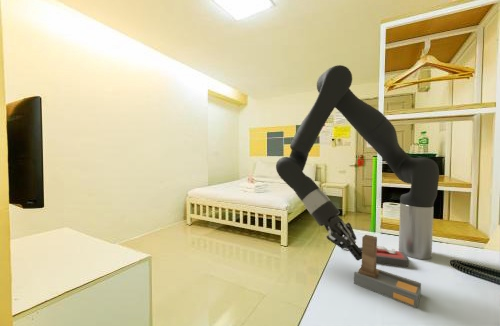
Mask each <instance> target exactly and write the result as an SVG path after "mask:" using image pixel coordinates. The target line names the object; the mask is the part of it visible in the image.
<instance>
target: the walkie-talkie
mask: <svg viewBox="0 0 500 326" xmlns="http://www.w3.org/2000/svg"><path fill="white" fill-rule="evenodd" d="M358 247H359V246H358ZM344 249H346V248H344ZM359 249H360V250H361V251H362V246H361V247H359ZM346 250H347V249H346ZM409 262H410V261H409V256H407V255H405V253H404V252H400V251H399V250H395V249H394V248H391V249H388V248H387V247H385V246H380V245H377V257H376V264H379V265H386V266H392V267H393V266H394V267H401V268H405V269H407V268H409Z"/></svg>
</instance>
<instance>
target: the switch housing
mask: <svg viewBox="0 0 500 326" xmlns="http://www.w3.org/2000/svg"><path fill="white" fill-rule="evenodd" d="M361 267H362V264H360V268H361ZM377 269H378V268H377ZM378 270H379V274H378V276H377V277H376V279H374V278H372V277H369V276H366V275H363V274H360V273H358V271H354V273H353V284H355V285H357V286H359V287H361V288H365V289H367V290H369V291H372V292H375V293H377V294H380V295H382V296H385V297H387V298H390V299H392V300H395V301H398V302H400V303H402V304H405V305H408V306H410V307H413V308H415V309H417V308H418V304H419V301H420V297H421V295H422V283H421V282H419V281H416V280H413V279H409V278H406V277H403V276H400V275H397V274H395V273H391V272H388V271H385V270H382V269H378Z"/></svg>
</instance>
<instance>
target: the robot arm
mask: <svg viewBox="0 0 500 326" xmlns="http://www.w3.org/2000/svg"><path fill="white" fill-rule="evenodd" d="M352 83H353V74H352V72H351V70H350V69H349V68H348V67H347V66H345V65H341V64H340V65H338V64H337V65H334V66H331V67H329V68H328V69H326V70H325V71H324V72H323V73H322V74H321V75H320V76H319V77H318V79H317V81H316V89H317V92H318V95H317V98H316V100H315V101H314V103H313V105H312V107H311V108H310V111H308V113H307V115H306V116H305V117H304V119H303V121H302V122H301V124H300V125H299V127H298V128H297V130H296V132H295V134H294V137H293V138H292V140H291V142H290V144H289V147H290V150H291V151H290V155H289V156H283V157H281V158H279V159H278V160H277V162H276V164H275V170H276V172H277V174H278V176H279V177H280V178H281V180H282V181H284V183H285V184H287V186H288V187H290V188H291V189H292V190H293V191H294V193H295V194H296V195H297V197H298V198H299V199H300V201H301V202H302V204H303V205H304V207H305V208H306V210H307V211H308V213H309V215H311V217H313V219H314V220H315V222H316V223H317V224H318V226H319V227H324V228H325V230H326V231H327V232H328V233H327V234H328V235H326V239H327V240H328V241H329V242H331V243H333V244H334V245H335V246H337V247H338V248H340V249H342V250H344V249H345V248H346V250H348V251H349V252H350V253H351V255H352V256H353V257H354V259H355V260H356V261H360V260H362V251H361V250H360V249H359V246H358V244H357V241H356V240H357V236H356V234H355V232H354V229H353V227H352V224H351V223H350V222H346V223H345V222H344V220H343V219H341V218H340V216H339V214H340V213H341V211H340V210H339V208H338V207H337V206H336V205H335V204H334V203H333V201H332V200H331V199H330V198H329V197H328V195H327V194H326V193H325V192H324V191H323V190H321V188H320V187H319V186H318V184H317V183H316V182H315V181H314V180H313V179H312V178H311V177H309V176H308V175H306V174H305V173H304V172H303V171H304V169H305V168H306V167H305V166H306V163H307V161H308V157H309V153H310V152H311V150H312V148H313V146H314V145H315V142H316V141H317V139H318V137H319V135H320V134H321V131H322V129H323V128H324V126H325V124H326V123H327V121H328V119H329V118H330V115H331V114H332V113H333V111H334V109H336V110H337V111H338V112H340V114H341V115H343V117H344V118H345V119H346V120H347V121H348V123H349V124H350V125H351V126H352V127H353V128H354V129H355V130H356V132H357V133H358V134H359V135H360V136H361V137H362V138H363V139H364V140H365V142H367V144H368V145H369V146H371V148H372V149H374V151H375V152H376V153H377V154H378V155H379V156H381V158H382V159H383V160H384V161H385V162H386V164H387V165H388V167H389V168H390V169H391V171H392V172H393V173H394V174H395V176H396V177H397V178H398V179H399V180H400V181H401V182H403V183H406V184H409V185H410V190H409V192H407V193H403V194H401V195H400V196H399V197H400V198H399V200H400V201H399V225H398V226H399V227H398V228H399V231H398V233H399V236H398V251H399V252H404V253H405V255H406V256H407V257H409V258H414V259H419V260H420V259H421V260H429V259H431V258H432V253H433V231H434V230H433V229H434V226H433V225H434V205H435V201H436V199H437V196H438V190H439V189H438V188H439V181H440V179H439V178H440V169H439V166H438V163H437V162H436V161H435V160H434V159H431V158H425V157H424V158H422V157H421V158H420V157H412V156H410V155H409V154H408V153H407V152H406V151H405V150H404V149H403V148H402V147H401V146H400V143H399V141H398V136H397V135H398V134H397V131H396V128H395V126H394V125H393V123H391V121H390V120H389V119H388V118H387V117H386V116H385V114H384V113H382V111H380V110H378V109H377V108H375V107H374V106H372V105H370V104H369V103H367V102H366V101H363V100H362V99H360V98H359V97H358V96H357V95H355V94H354V92H353V91H352V90H351V89H350V88H351V86H352Z"/></svg>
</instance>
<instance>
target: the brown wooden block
mask: <svg viewBox="0 0 500 326" xmlns="http://www.w3.org/2000/svg"><path fill="white" fill-rule="evenodd" d="M377 246H378V237H377V236H374V235H370V234H364V235H363V236H362V243H361V247H362V259H361V265H362V267H361V266H360V268H359V269H358V271H357V272H358V273H360V274H363V275H366V276H369V277H372V278H374V279H376V277H377V276H378V274H379V270H380V269H379V270H378V268H377V263H376V257H377Z"/></svg>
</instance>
